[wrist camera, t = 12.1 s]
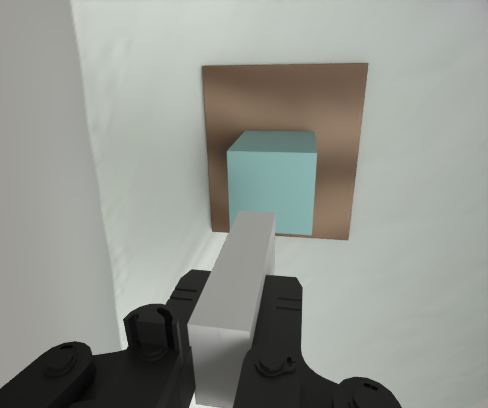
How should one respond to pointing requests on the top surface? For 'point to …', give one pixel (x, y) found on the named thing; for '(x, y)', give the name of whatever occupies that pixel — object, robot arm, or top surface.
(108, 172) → the top surface
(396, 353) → the top surface
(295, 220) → the teal rectangular block
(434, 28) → the top surface
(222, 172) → the brown square panel
